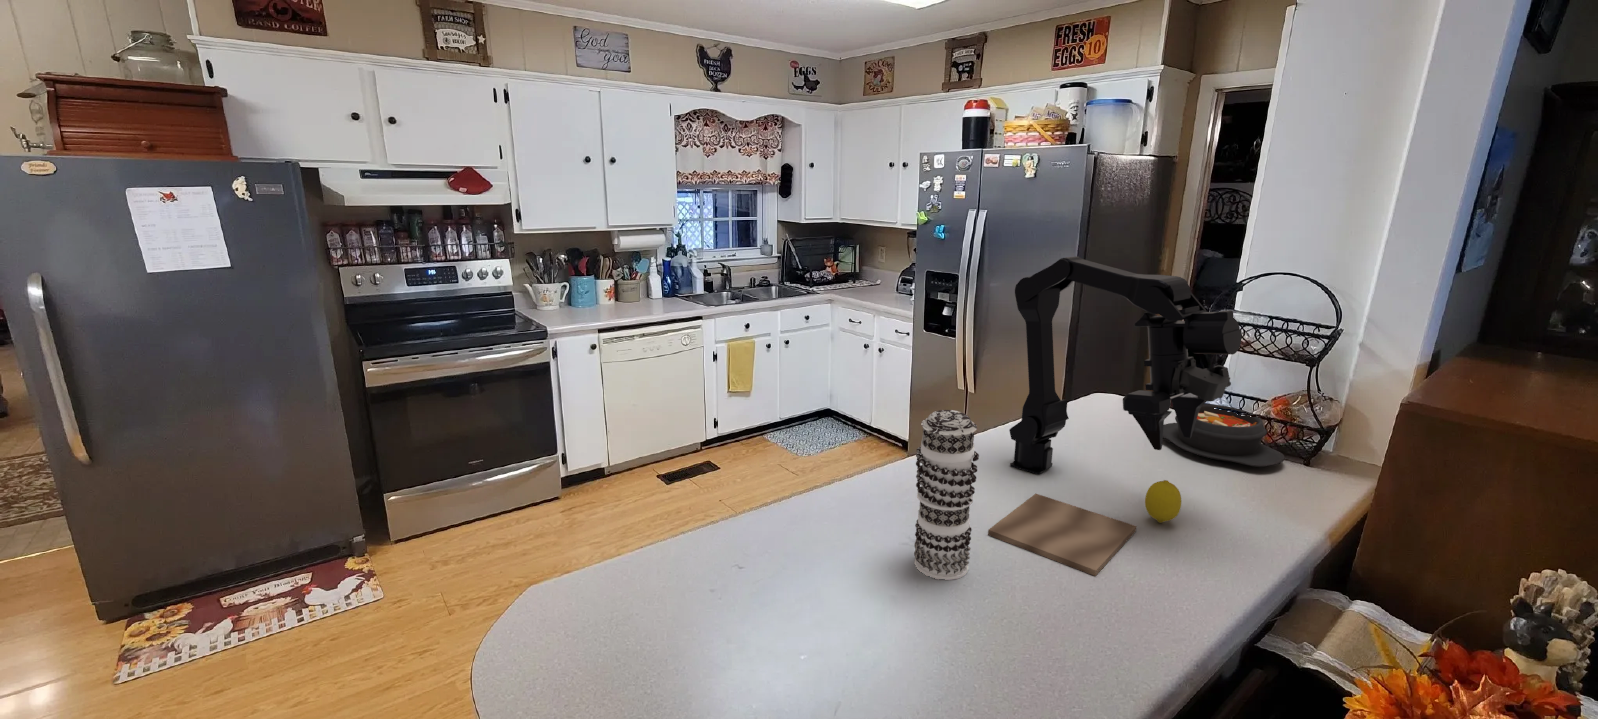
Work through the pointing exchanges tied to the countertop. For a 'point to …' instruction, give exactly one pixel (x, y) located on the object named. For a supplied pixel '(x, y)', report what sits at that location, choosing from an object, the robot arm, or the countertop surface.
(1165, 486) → the lemon
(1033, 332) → the robot arm
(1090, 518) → the walnut board
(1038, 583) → the countertop surface
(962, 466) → the decorative candle
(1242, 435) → the casserole
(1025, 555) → the countertop surface
